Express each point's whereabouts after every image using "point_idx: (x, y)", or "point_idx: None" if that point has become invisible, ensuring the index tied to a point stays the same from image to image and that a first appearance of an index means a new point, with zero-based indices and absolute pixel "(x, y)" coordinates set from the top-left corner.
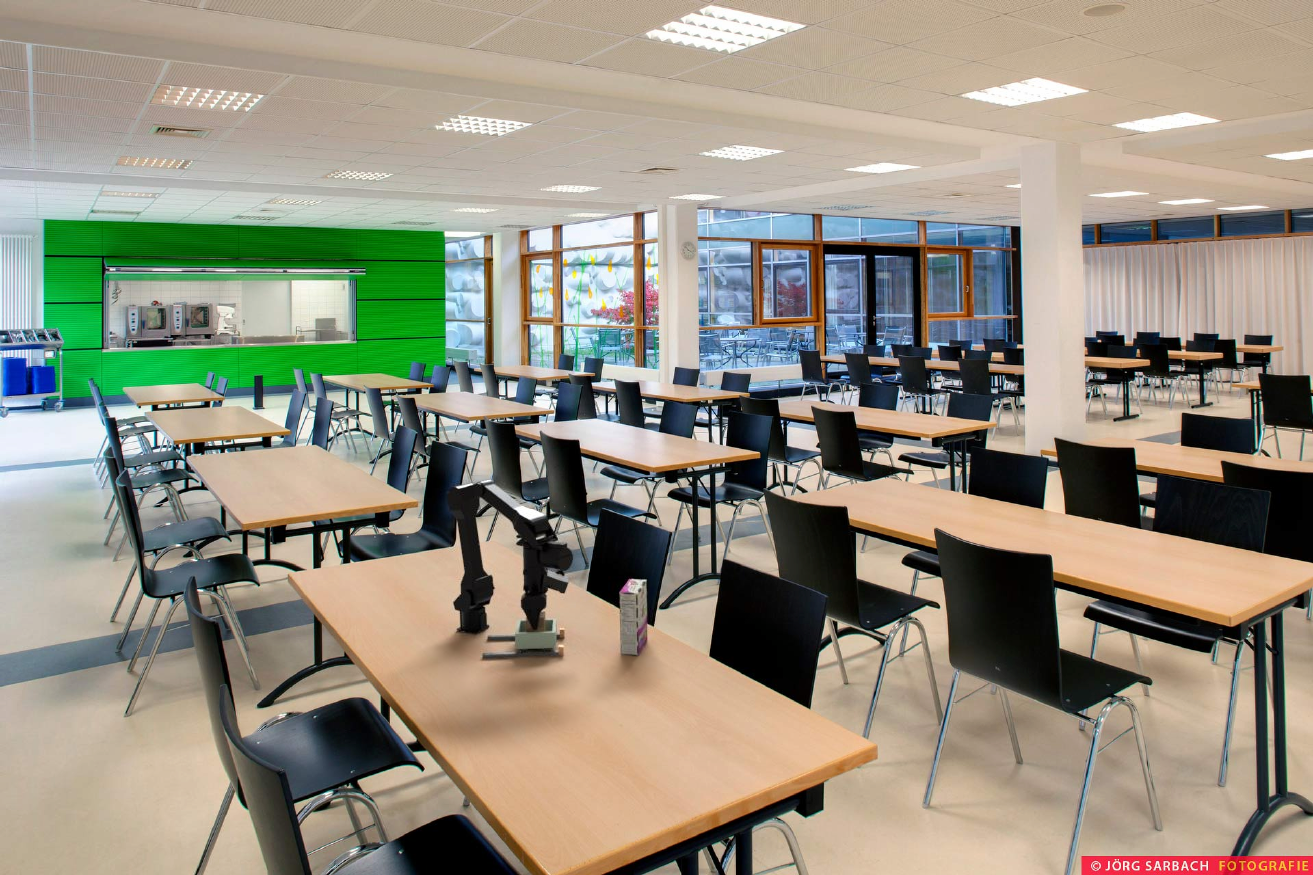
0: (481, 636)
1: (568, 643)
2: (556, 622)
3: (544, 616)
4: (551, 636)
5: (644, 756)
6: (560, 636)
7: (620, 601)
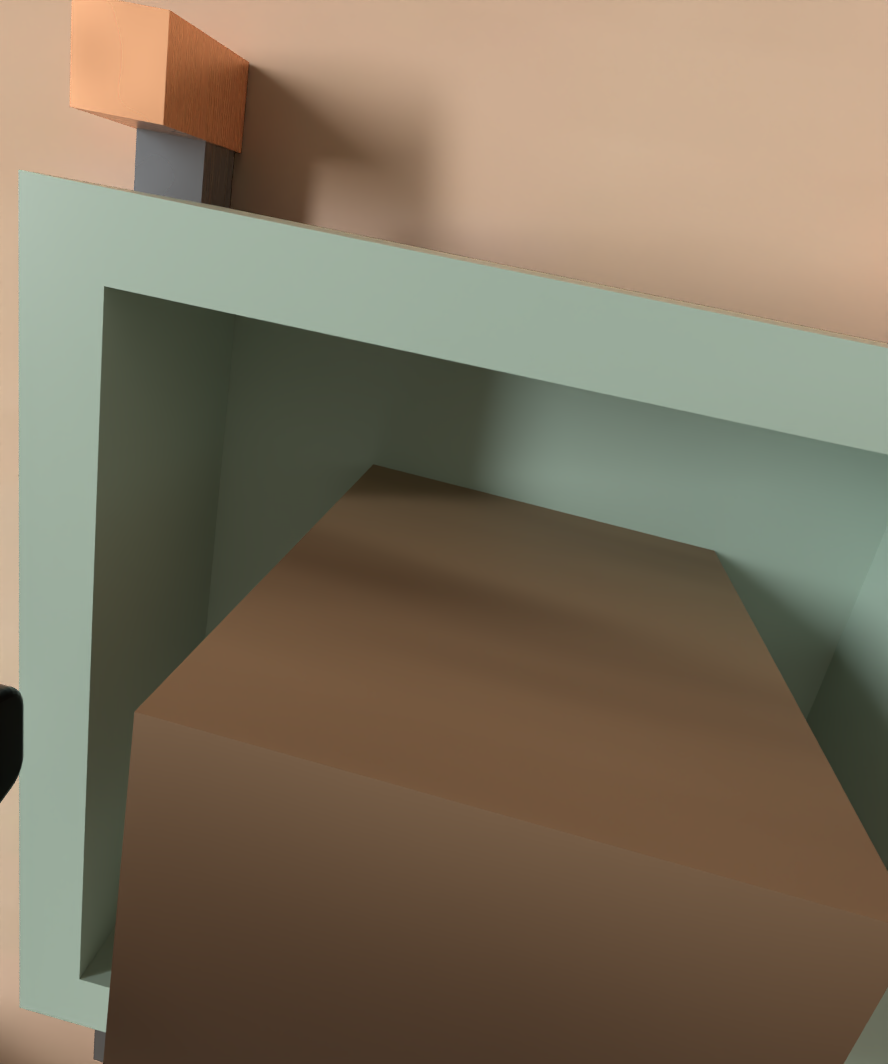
0: (35, 1047)
1: (521, 22)
2: (112, 187)
3: (694, 848)
4: None
5: None
6: (231, 135)
7: None
